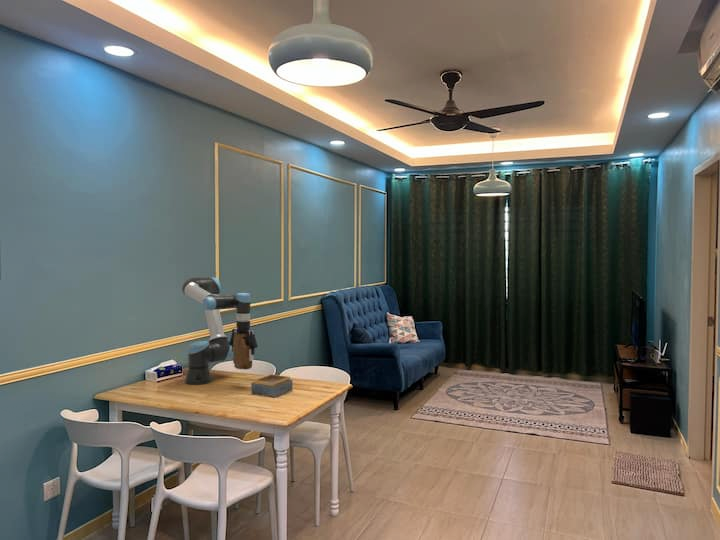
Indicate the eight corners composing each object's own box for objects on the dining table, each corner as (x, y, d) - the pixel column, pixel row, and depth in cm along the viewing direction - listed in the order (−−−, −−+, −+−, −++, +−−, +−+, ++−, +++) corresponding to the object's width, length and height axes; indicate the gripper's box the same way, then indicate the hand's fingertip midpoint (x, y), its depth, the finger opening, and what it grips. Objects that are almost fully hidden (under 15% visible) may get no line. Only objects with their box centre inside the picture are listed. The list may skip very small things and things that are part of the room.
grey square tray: (251, 393, 290) (251, 380, 290) (268, 387, 304) (268, 374, 304) (275, 397, 283) (275, 383, 282) (292, 390, 297) (292, 377, 297)
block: (231, 367, 301) (231, 332, 300) (242, 365, 307) (242, 331, 306) (244, 370, 294) (244, 334, 294) (254, 368, 300) (254, 333, 299)
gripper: (222, 319, 301) (222, 358, 302) (256, 323, 291) (255, 362, 292) (231, 318, 308) (231, 355, 309) (264, 321, 298) (264, 360, 299)
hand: (243, 359), depth 301 cm, fingers closed on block, 11 cm apart
